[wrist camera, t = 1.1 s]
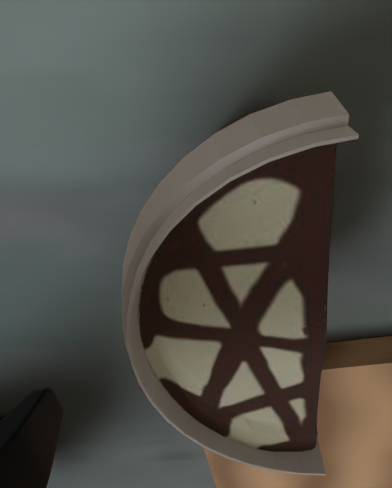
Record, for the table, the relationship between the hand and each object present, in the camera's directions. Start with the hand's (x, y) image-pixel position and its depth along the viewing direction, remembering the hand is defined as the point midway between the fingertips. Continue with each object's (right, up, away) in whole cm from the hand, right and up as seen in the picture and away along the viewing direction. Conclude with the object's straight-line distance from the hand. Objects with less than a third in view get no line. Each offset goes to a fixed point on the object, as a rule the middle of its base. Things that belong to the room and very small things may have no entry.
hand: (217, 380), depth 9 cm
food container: (+1, +5, +9) cm, 11 cm away
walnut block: (+7, -10, +17) cm, 21 cm away
